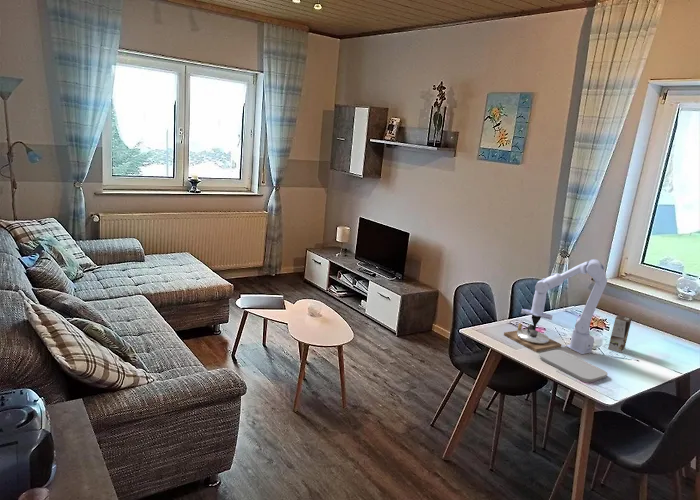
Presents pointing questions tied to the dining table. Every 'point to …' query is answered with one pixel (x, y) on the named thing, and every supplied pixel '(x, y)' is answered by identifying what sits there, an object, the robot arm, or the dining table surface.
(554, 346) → the base board
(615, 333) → the coffee box
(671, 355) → the dining table surface
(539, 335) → the white round dish
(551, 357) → the tablet
